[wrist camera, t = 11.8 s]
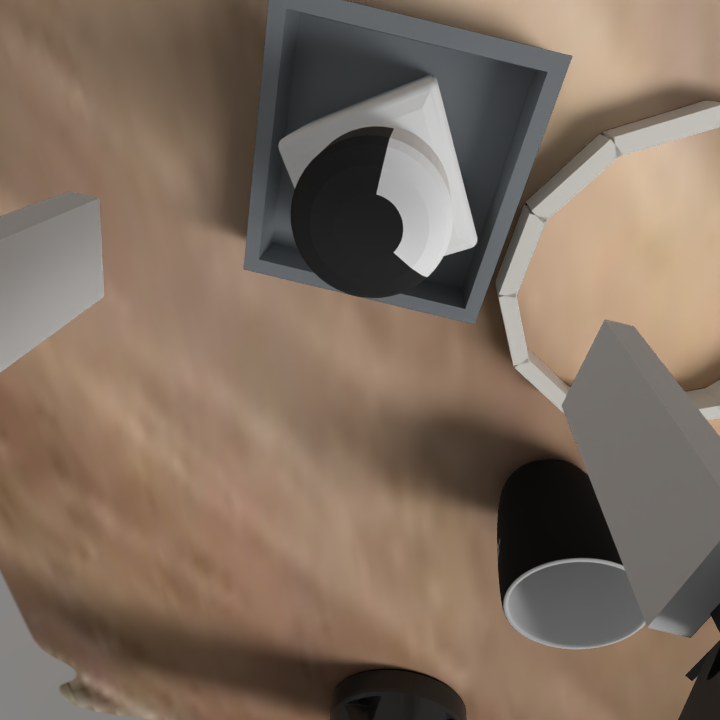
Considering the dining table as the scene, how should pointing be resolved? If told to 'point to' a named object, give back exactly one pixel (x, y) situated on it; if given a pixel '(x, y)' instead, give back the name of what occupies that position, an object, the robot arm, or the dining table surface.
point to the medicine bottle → (378, 192)
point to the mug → (561, 561)
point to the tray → (380, 74)
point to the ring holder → (554, 196)
